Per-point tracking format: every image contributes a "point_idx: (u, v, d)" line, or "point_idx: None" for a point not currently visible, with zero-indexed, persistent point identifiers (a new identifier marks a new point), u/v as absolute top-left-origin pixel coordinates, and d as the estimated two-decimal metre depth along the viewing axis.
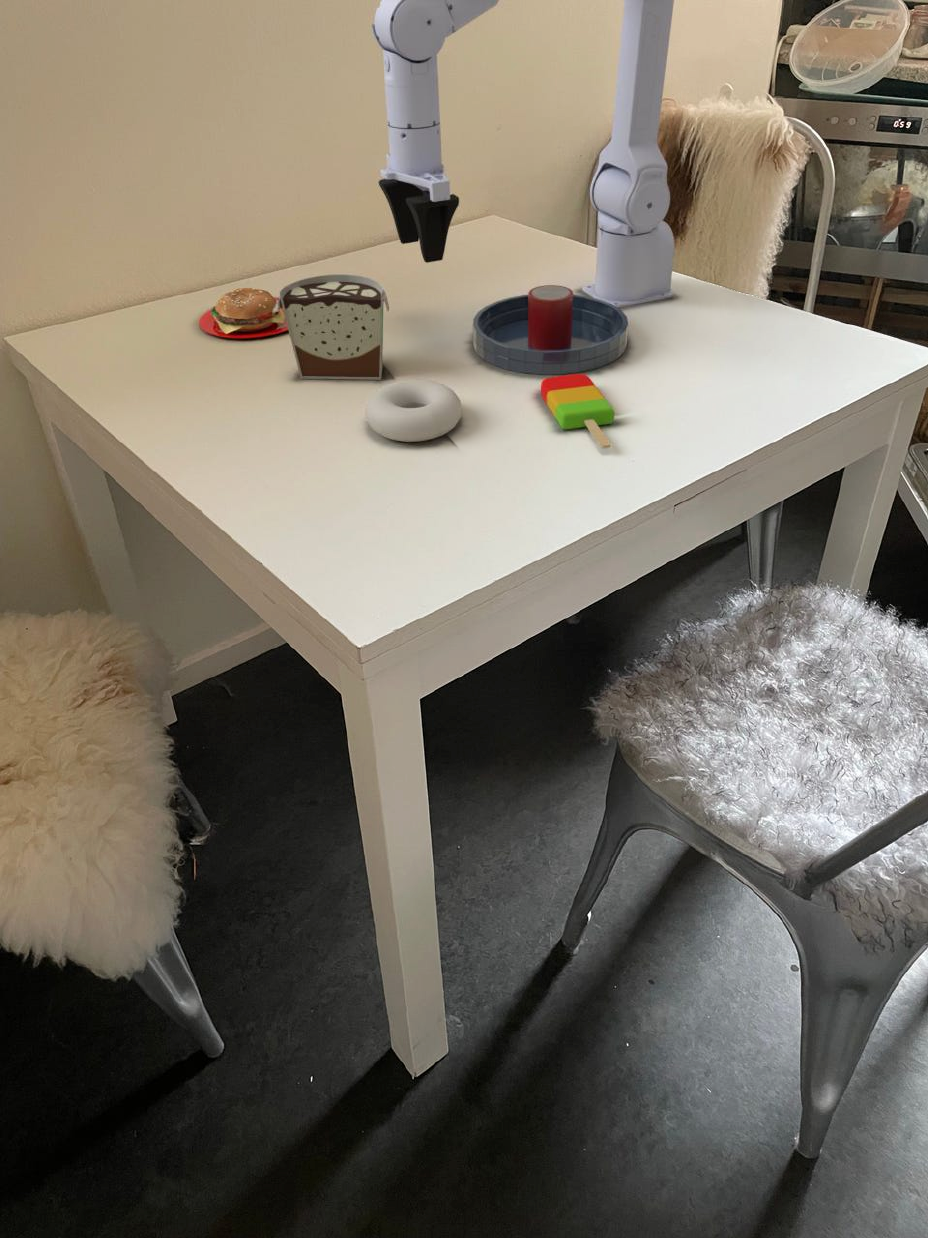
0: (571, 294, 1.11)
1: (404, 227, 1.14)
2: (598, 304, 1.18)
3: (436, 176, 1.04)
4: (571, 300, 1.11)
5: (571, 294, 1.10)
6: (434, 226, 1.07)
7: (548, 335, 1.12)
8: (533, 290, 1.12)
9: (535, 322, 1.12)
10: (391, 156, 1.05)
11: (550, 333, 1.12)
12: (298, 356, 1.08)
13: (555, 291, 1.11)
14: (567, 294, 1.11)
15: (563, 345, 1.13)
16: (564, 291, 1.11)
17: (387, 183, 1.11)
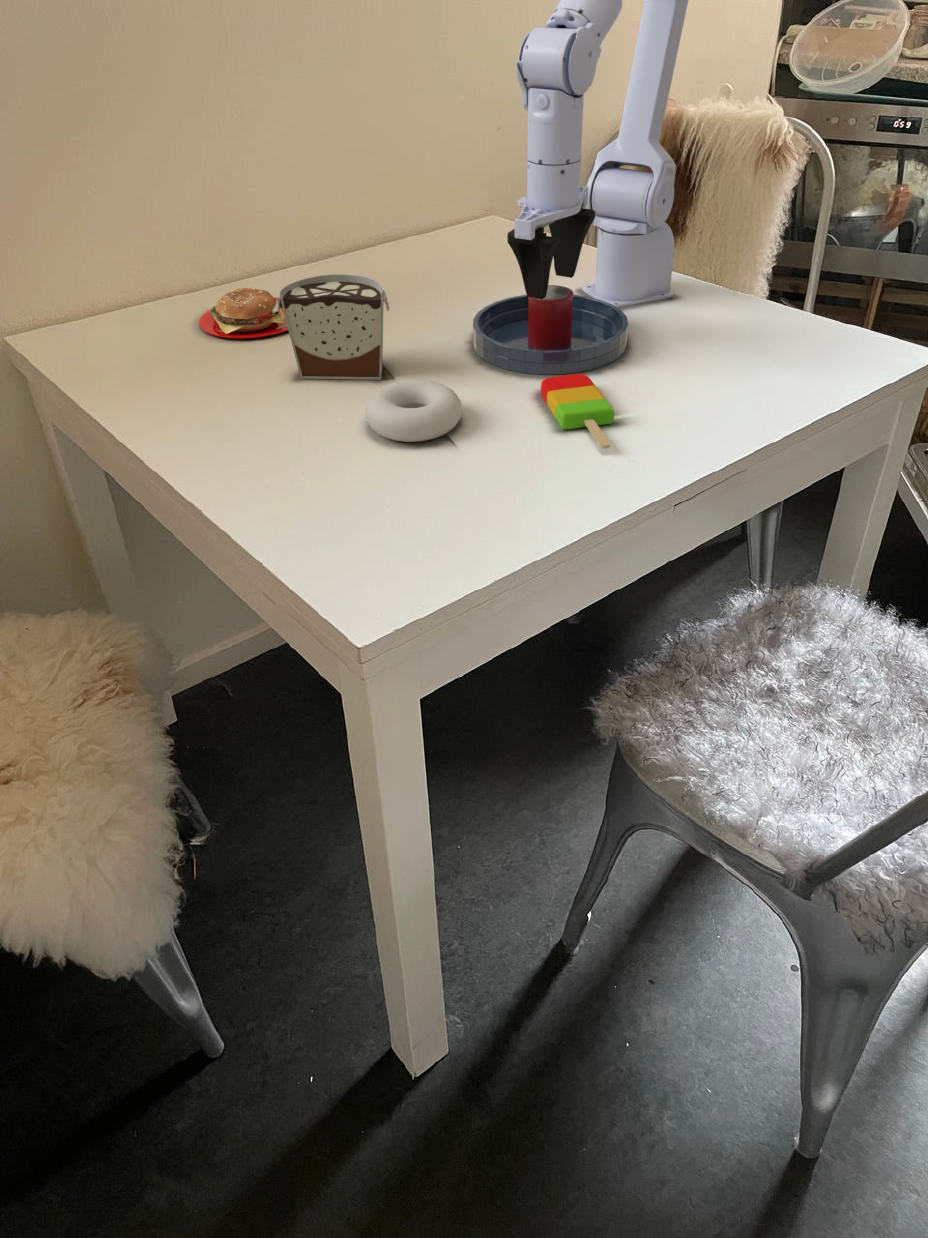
0: (571, 294, 1.11)
1: (559, 259, 1.12)
2: (598, 304, 1.18)
3: (538, 215, 1.02)
4: (571, 300, 1.11)
5: (571, 294, 1.10)
6: (535, 263, 1.05)
7: (548, 335, 1.12)
8: None
9: (535, 322, 1.12)
10: None
11: (550, 333, 1.12)
12: (298, 356, 1.08)
13: (555, 291, 1.11)
14: (567, 294, 1.11)
15: (563, 345, 1.13)
16: (564, 291, 1.11)
17: None
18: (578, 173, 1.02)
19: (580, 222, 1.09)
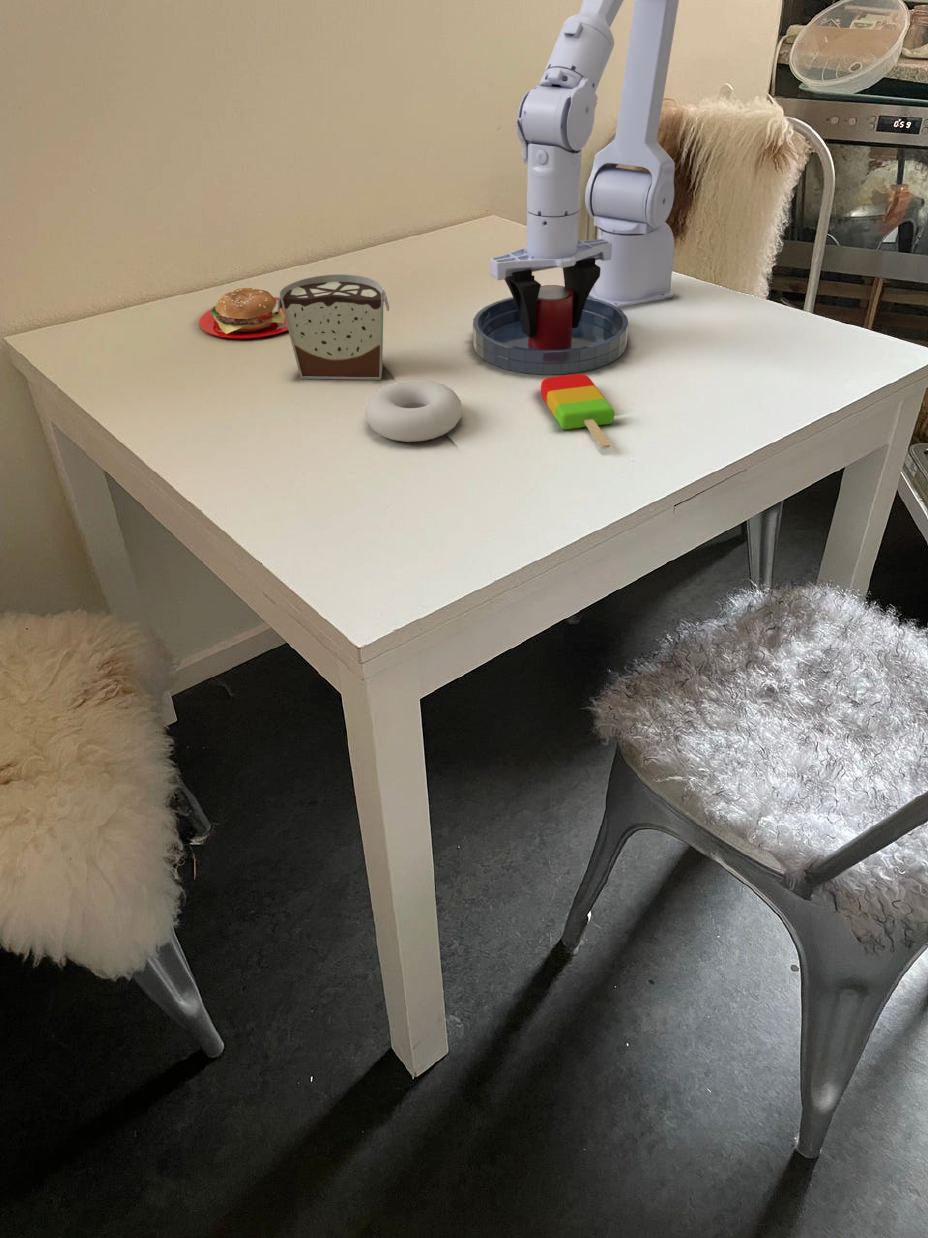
0: (571, 294, 1.11)
1: None
2: (598, 304, 1.18)
3: (586, 243, 1.10)
4: (571, 300, 1.11)
5: (572, 294, 1.10)
6: None
7: (549, 334, 1.12)
8: None
9: None
10: (564, 244, 1.05)
11: (550, 333, 1.12)
12: (298, 356, 1.08)
13: (555, 291, 1.11)
14: (567, 293, 1.11)
15: (563, 345, 1.13)
16: (564, 291, 1.11)
17: (536, 281, 1.07)
18: None
19: None
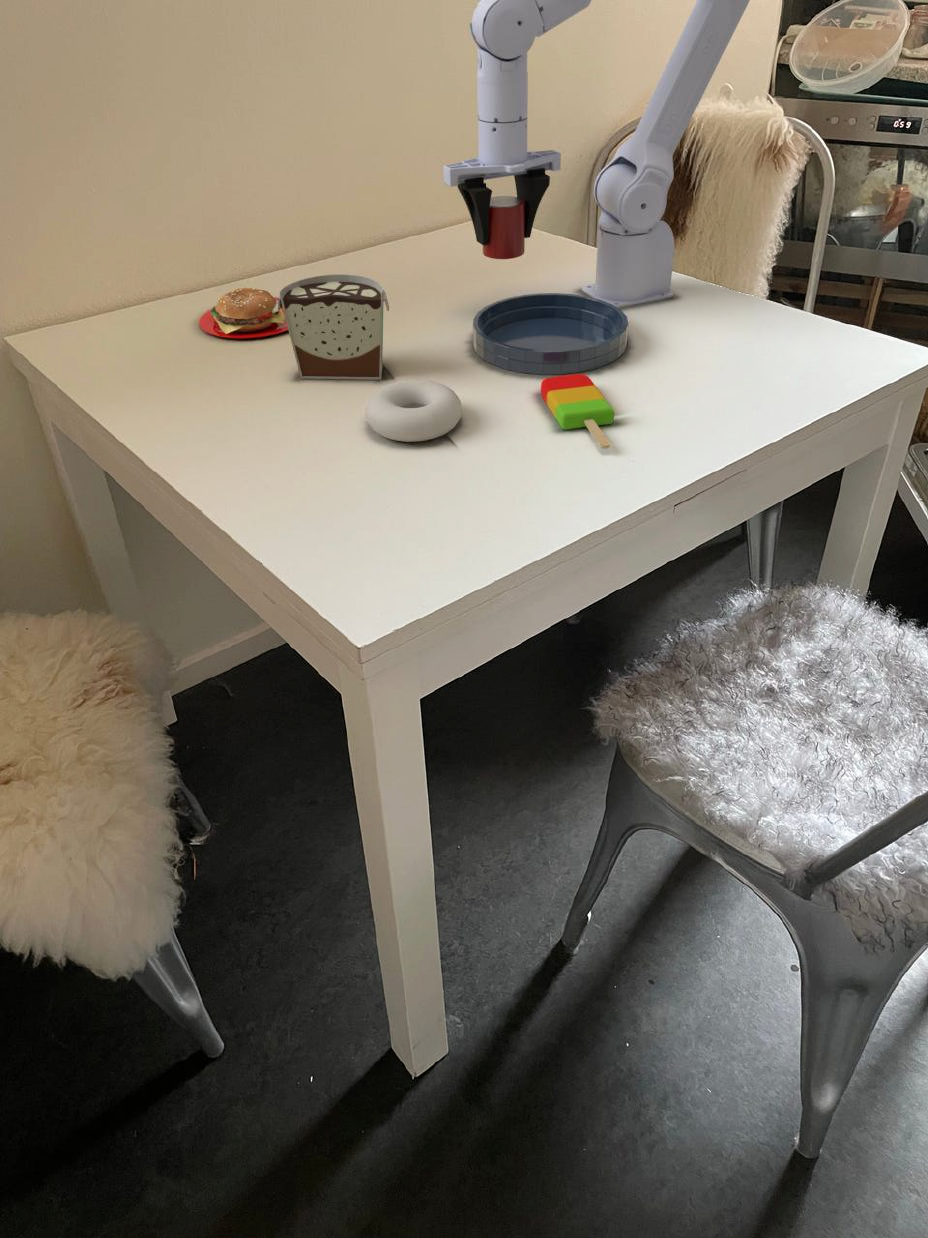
0: (523, 203, 1.16)
1: None
2: (598, 304, 1.18)
3: (536, 153, 1.15)
4: (523, 208, 1.16)
5: (523, 203, 1.15)
6: None
7: (502, 242, 1.17)
8: None
9: None
10: (513, 151, 1.10)
11: (503, 241, 1.17)
12: (298, 356, 1.08)
13: (507, 200, 1.16)
14: (518, 202, 1.16)
15: (516, 253, 1.18)
16: (516, 200, 1.16)
17: None
18: None
19: None
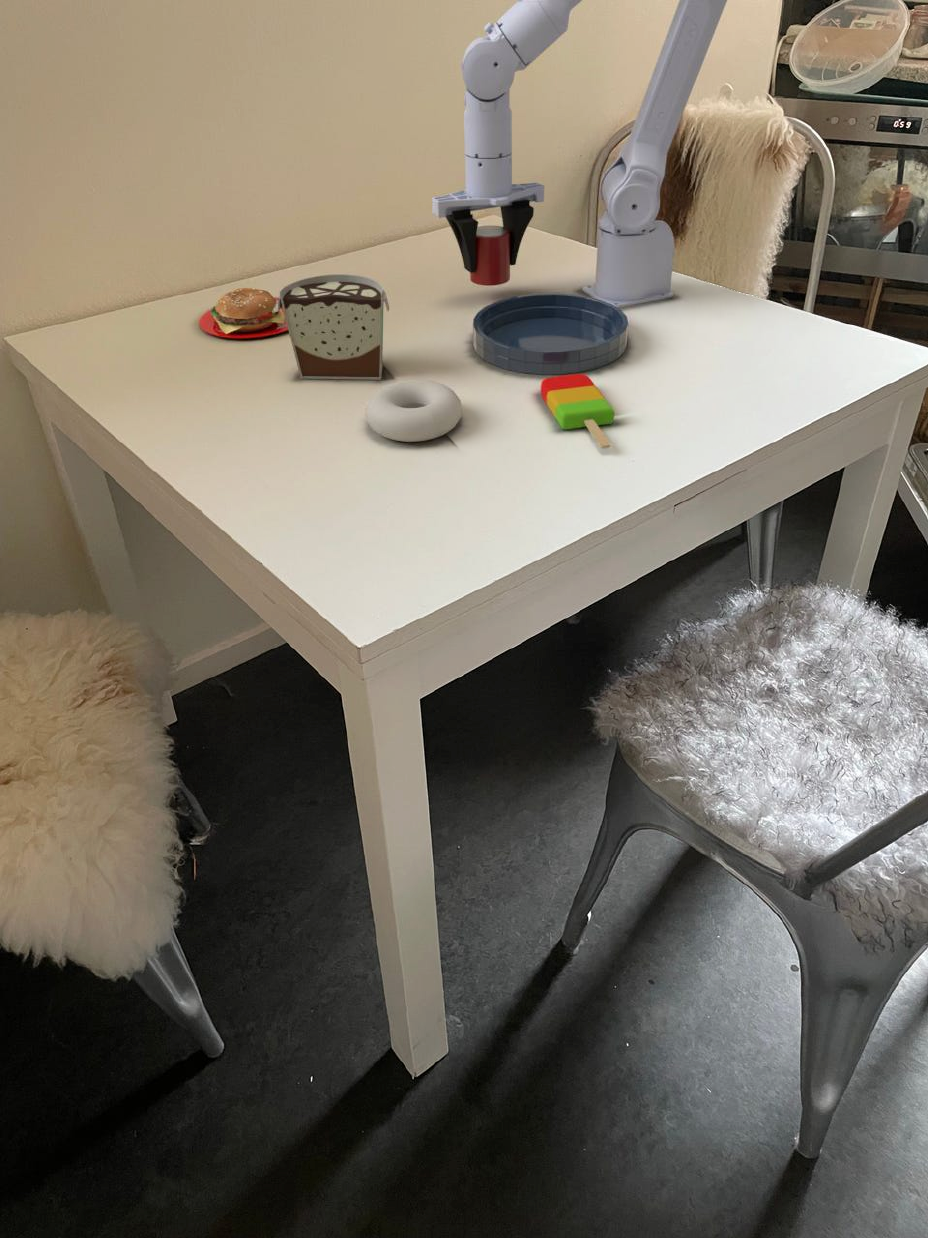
0: (508, 232, 1.21)
1: None
2: (598, 304, 1.18)
3: (520, 186, 1.21)
4: (508, 238, 1.21)
5: (508, 233, 1.21)
6: None
7: (488, 270, 1.23)
8: None
9: None
10: (498, 184, 1.16)
11: (489, 268, 1.22)
12: (298, 356, 1.08)
13: (493, 230, 1.22)
14: (504, 232, 1.21)
15: (502, 280, 1.24)
16: (501, 230, 1.22)
17: (474, 219, 1.18)
18: None
19: None
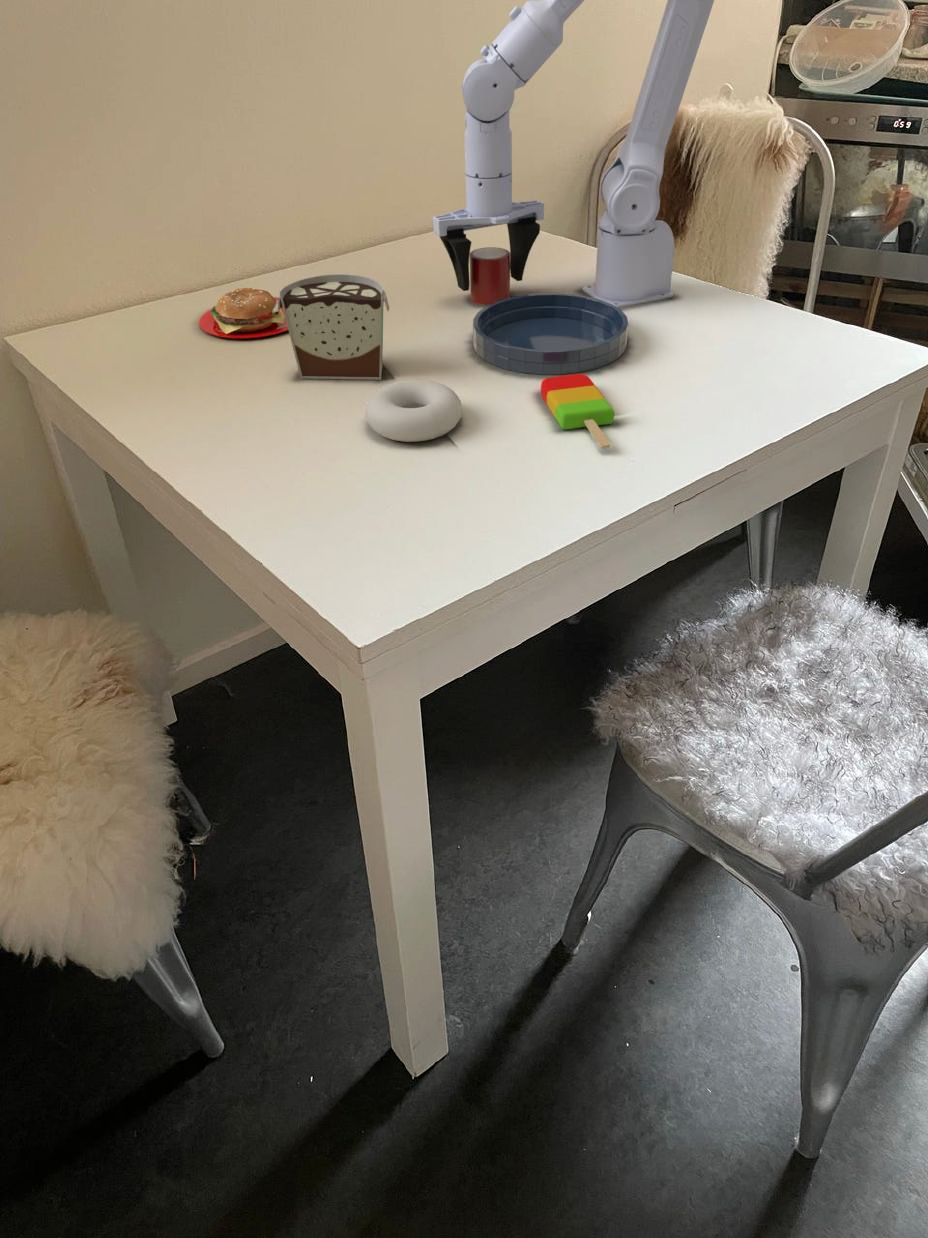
0: (508, 254, 1.23)
1: None
2: (598, 304, 1.18)
3: (520, 204, 1.22)
4: (508, 260, 1.23)
5: (508, 255, 1.23)
6: None
7: (488, 291, 1.24)
8: (474, 251, 1.24)
9: (475, 280, 1.24)
10: (498, 204, 1.18)
11: (489, 290, 1.24)
12: (298, 356, 1.08)
13: (494, 252, 1.24)
14: (504, 254, 1.23)
15: None
16: (501, 252, 1.24)
17: None
18: None
19: None
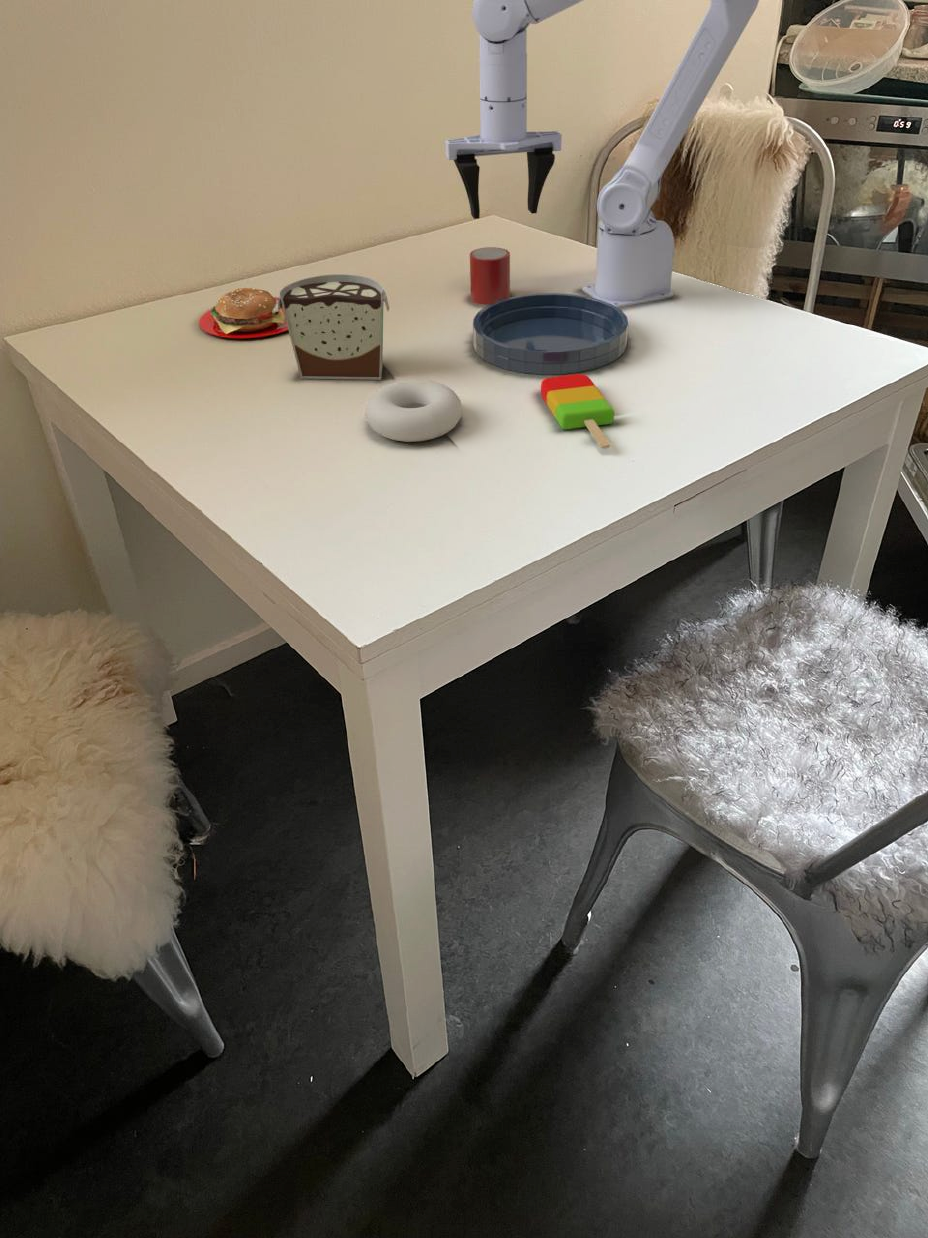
0: (508, 254, 1.23)
1: None
2: (598, 304, 1.18)
3: (538, 133, 1.21)
4: (508, 260, 1.23)
5: (508, 255, 1.23)
6: None
7: (488, 291, 1.24)
8: (474, 251, 1.24)
9: (475, 280, 1.24)
10: (508, 129, 1.17)
11: (489, 290, 1.24)
12: (298, 356, 1.08)
13: (494, 252, 1.24)
14: (504, 254, 1.23)
15: None
16: (501, 252, 1.24)
17: (476, 163, 1.19)
18: None
19: None
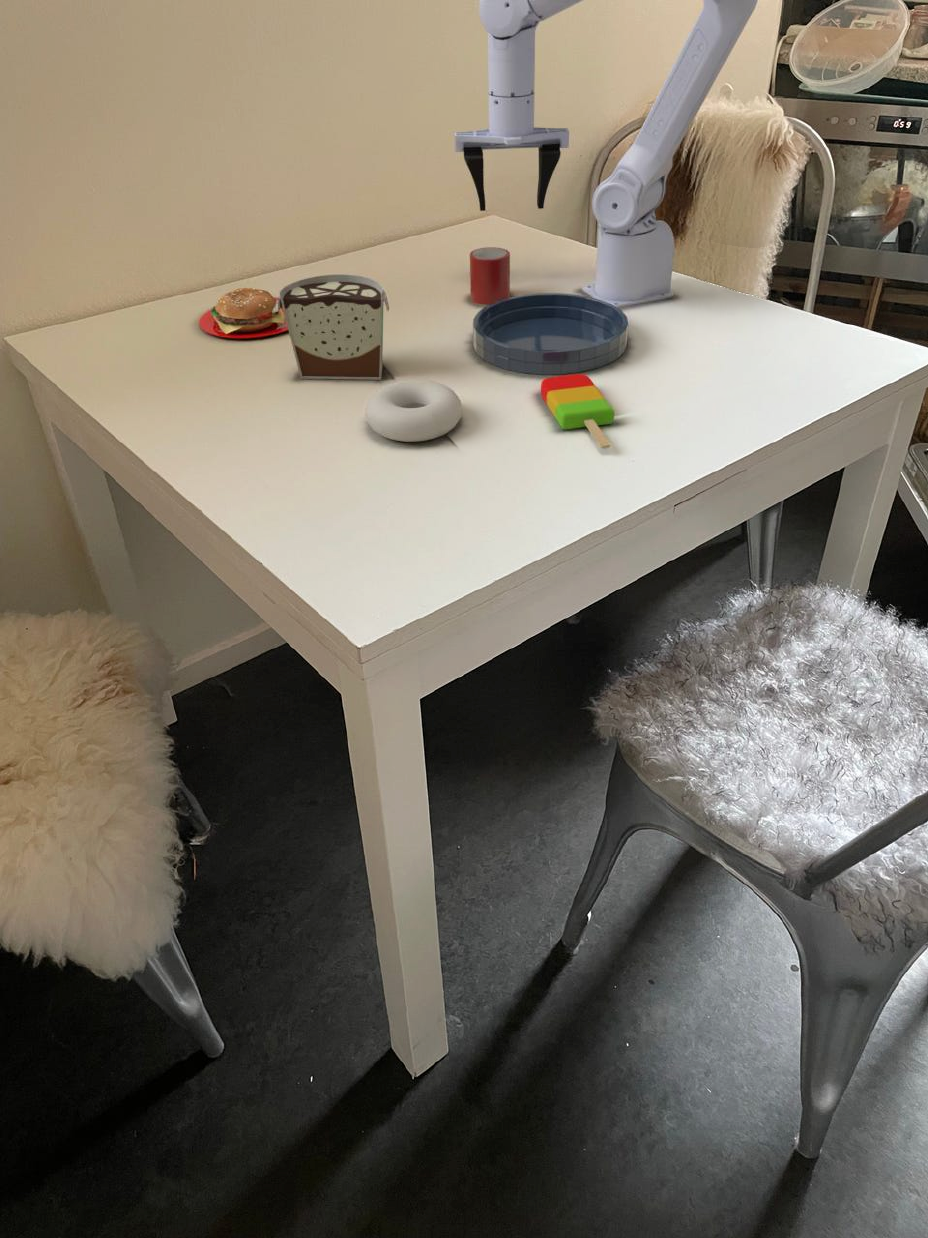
0: (508, 254, 1.23)
1: None
2: (598, 304, 1.18)
3: (547, 130, 1.22)
4: (508, 260, 1.23)
5: (508, 255, 1.23)
6: None
7: (488, 291, 1.24)
8: (474, 251, 1.24)
9: (475, 280, 1.24)
10: (512, 124, 1.19)
11: (489, 290, 1.24)
12: (298, 356, 1.08)
13: (494, 252, 1.24)
14: (504, 254, 1.23)
15: None
16: (501, 252, 1.24)
17: (481, 156, 1.22)
18: None
19: None
